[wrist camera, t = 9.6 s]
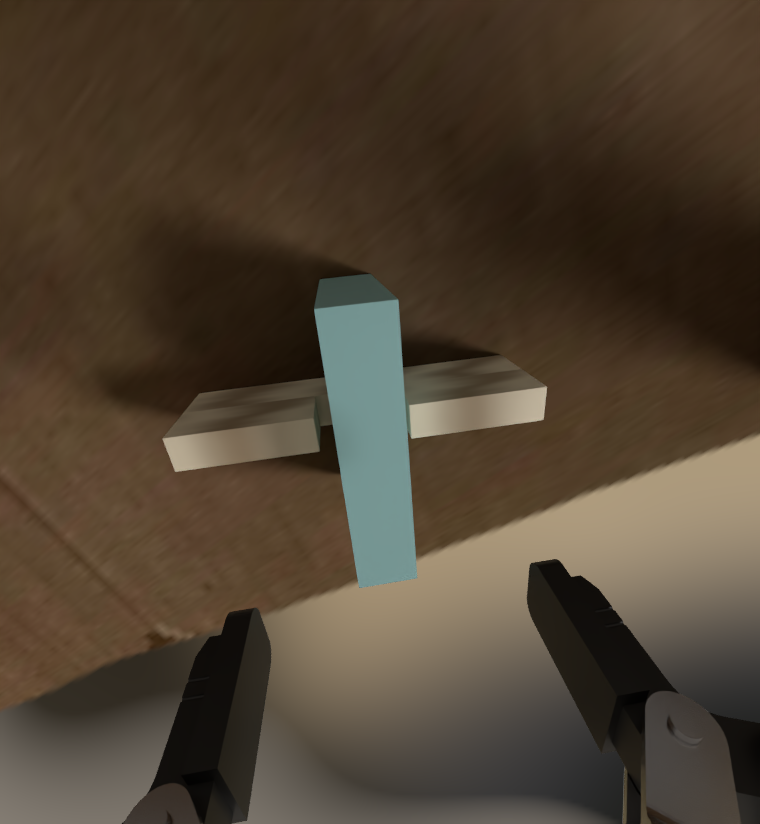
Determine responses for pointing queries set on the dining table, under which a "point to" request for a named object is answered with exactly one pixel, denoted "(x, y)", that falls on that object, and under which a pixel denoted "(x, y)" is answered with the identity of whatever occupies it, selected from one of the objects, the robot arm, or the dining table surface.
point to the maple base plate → (309, 410)
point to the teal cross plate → (369, 422)
